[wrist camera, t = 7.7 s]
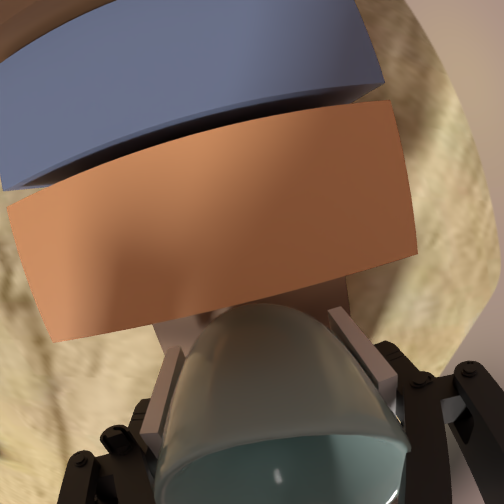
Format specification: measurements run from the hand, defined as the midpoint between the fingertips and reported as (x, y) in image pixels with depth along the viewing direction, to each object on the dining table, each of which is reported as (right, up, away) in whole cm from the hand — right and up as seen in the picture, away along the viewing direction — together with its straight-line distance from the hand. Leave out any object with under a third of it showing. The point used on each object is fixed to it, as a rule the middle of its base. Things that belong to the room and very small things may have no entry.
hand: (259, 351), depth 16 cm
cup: (0, 0, +1) cm, 1 cm away
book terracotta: (-2, +8, +1) cm, 8 cm away
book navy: (-3, +12, 0) cm, 12 cm away
